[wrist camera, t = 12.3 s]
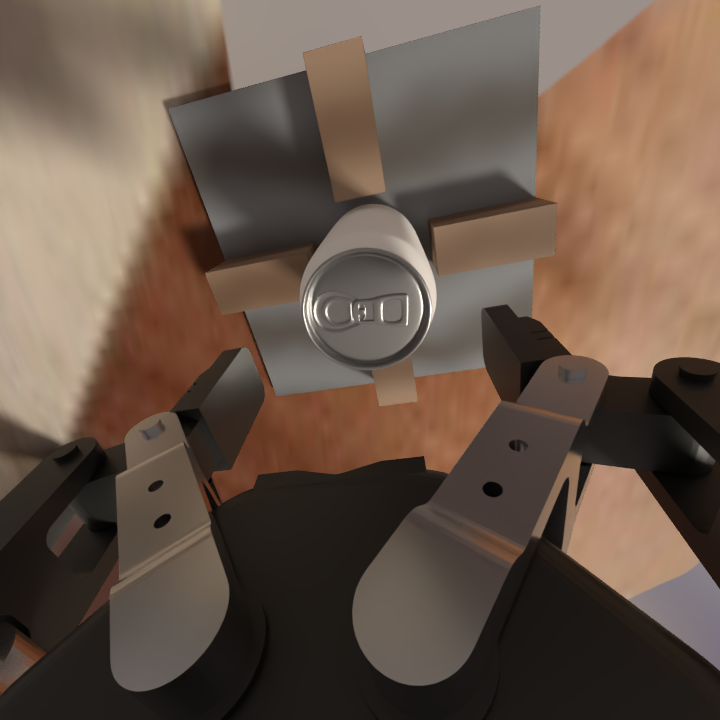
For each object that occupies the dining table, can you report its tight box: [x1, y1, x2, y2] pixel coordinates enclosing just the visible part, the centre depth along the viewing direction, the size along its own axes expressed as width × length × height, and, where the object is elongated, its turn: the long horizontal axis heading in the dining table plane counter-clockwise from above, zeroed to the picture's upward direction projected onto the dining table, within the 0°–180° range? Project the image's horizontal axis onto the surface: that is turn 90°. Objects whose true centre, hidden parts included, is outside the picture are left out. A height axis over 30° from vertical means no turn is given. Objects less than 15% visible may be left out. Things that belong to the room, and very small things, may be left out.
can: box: [300, 204, 437, 370], centre depth 21 cm, size 6×6×12 cm
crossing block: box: [168, 6, 558, 406], centre depth 25 cm, size 22×22×4 cm
